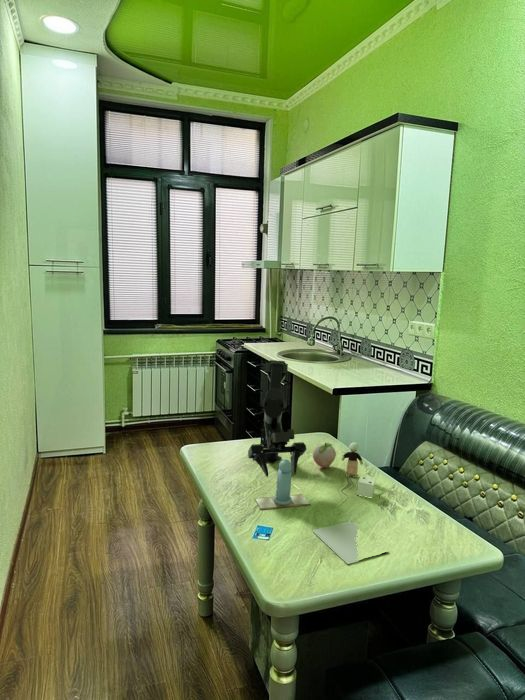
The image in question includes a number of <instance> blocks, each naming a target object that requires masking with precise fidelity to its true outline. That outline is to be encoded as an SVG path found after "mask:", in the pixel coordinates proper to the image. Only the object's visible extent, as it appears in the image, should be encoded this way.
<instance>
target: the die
mask: <svg viewBox="0 0 525 700" xmlns="http://www.w3.org/2000/svg"><path fill="white" fill-rule="evenodd" d="M375 485H376V478H373V477H367V476H364V475H363V476H362V475H360V477H359V479H358V481H357V491H356V496H357V495H361V496H367V497H374V494H375ZM373 493H374V494H373Z"/></svg>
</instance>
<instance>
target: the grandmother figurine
mask: <svg viewBox="0 0 525 700" xmlns="http://www.w3.org/2000/svg"><path fill="white" fill-rule="evenodd" d="M348 449H349V450H350V451H347V452H345V453H344V454H343V455H342V458H341V461H343V462H344V461H345V459H347V463H346V474H345V475H347V476H351V477H352V478H354V477H357V476H359V473H358V469H359V468H358V467H359V466H358V465H359V463H360V465H361V466H363V465H364V461H363V458H362V456H361V454H359V453H358V452H357V451H358V450H359V444H358V442H355V441H353V442H351V443H350V444H349V445H348ZM358 462H359V463H358ZM347 476H346V477H347ZM357 478H358V477H357Z"/></svg>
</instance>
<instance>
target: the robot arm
mask: <svg viewBox="0 0 525 700" xmlns="http://www.w3.org/2000/svg"><path fill="white" fill-rule="evenodd" d="M288 368H289V364H288V363H286V361H285V360H276V359H275V360H272V359H269V361H268V362H266V367H265V372H267V378H268V380H269V390H268V391H267V392H265V398H264V399H263V401H262V409H261V410H262V411H263V412H264V415H263V417H264V418H263V428H261V431H260V443H256V444H254V443H253V444H251V445H250V446H249V449H248V450H247V454H248V455H247V456H248V459H249V460H250V459H251V460H252V461H254V462H256V464H257V465H258V466H259V467H260V469H261V470H262V472H263V473H264V474H265V475H264V476H265V477H266V478H268V477H269V470H268V466H267V462H268V463H271V464H275V463H276V462H278V461H279V460H282V458H283V457H282V456H280V455H279V454H281V453H282V454H283V453H289V454H290V458H289V459H290V463H291V465H292V468H291V471H292V475H294V476H295V475H296V474H297V468H298V463H299V458H300V457H301V456H303V455H304V454H305V452H306V451H307V445H306V443H305V442H304V441H303V442H293V443H292V445H289V446H287V444H288V443H290V440H295V431H294V428H293V429H287V430H286V431H285V430H284V429H283V425H282V417H283V413H286V412H285V411H287V407H288V406H287V405H288V404H287V403H286V400H284V393H283V392H282V390H281V388H282V383H283V381H284V380H285V379H286V374H288Z"/></svg>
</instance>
